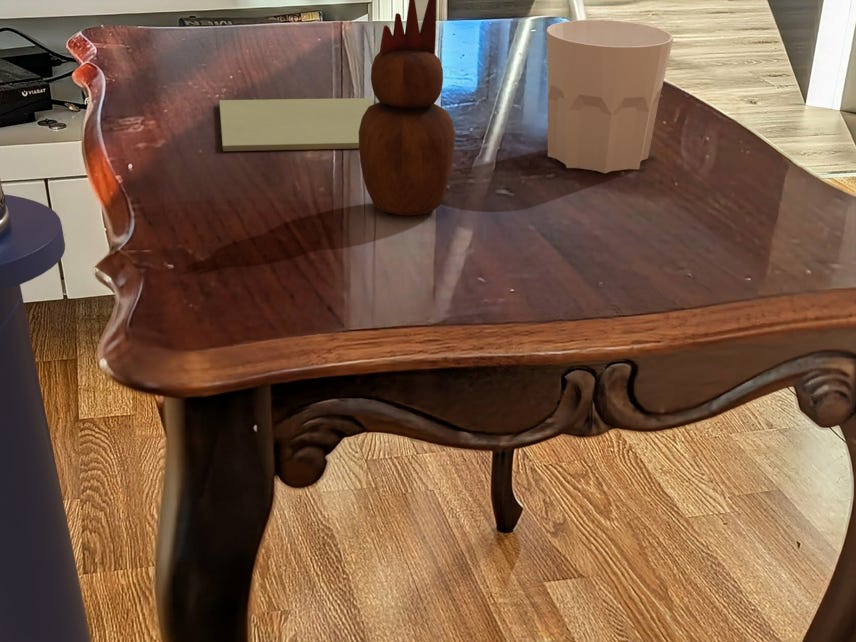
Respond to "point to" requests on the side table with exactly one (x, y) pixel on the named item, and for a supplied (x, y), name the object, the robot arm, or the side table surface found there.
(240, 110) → the mat
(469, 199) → the side table surface
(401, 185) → the wooden figurine
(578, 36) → the cup
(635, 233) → the side table surface
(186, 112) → the side table surface
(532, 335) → the side table surface
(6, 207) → the robot arm
